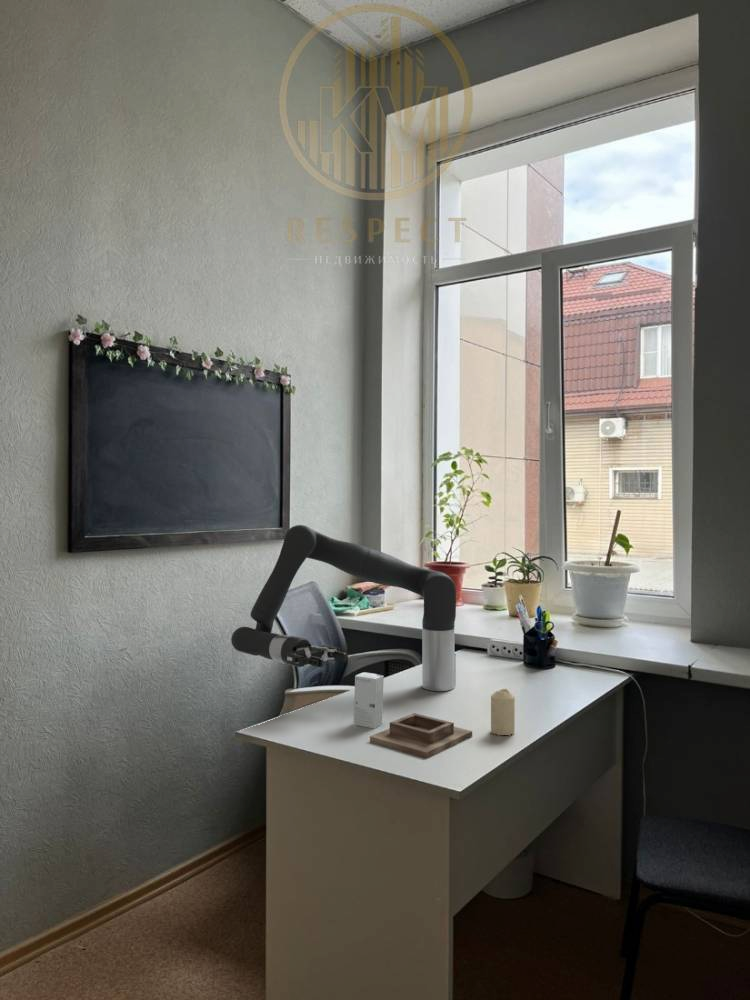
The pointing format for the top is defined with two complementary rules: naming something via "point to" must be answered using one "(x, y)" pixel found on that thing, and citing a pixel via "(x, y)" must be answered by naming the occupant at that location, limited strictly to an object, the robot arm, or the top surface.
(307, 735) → the top surface
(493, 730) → the candle
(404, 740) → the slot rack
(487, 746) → the top surface
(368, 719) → the skincare box
